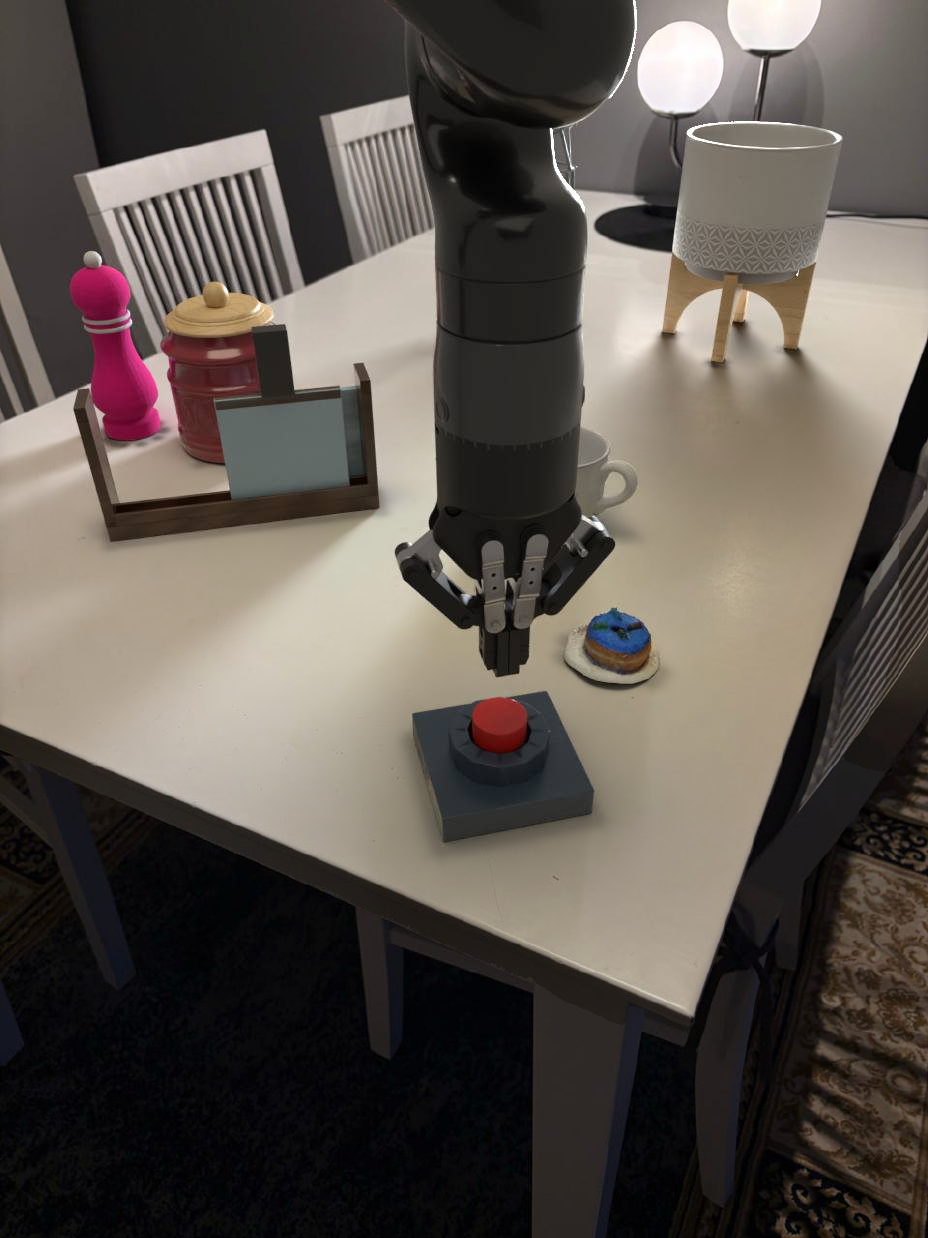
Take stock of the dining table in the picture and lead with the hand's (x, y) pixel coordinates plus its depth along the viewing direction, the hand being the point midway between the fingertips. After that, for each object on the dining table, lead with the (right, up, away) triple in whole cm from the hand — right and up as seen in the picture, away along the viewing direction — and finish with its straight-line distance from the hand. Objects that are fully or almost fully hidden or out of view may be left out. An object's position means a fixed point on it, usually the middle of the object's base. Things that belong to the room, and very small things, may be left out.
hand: (503, 667), depth 57 cm
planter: (+35, +43, +73) cm, 91 cm away
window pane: (-19, +15, +33) cm, 41 cm away
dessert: (+9, 0, +16) cm, 18 cm away
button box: (0, -8, +6) cm, 10 cm away
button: (0, -5, +4) cm, 6 cm away
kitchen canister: (-28, +23, +47) cm, 60 cm away
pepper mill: (-41, +25, +50) cm, 69 cm away
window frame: (-24, +14, +34) cm, 44 cm away
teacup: (+7, +13, +33) cm, 36 cm away
